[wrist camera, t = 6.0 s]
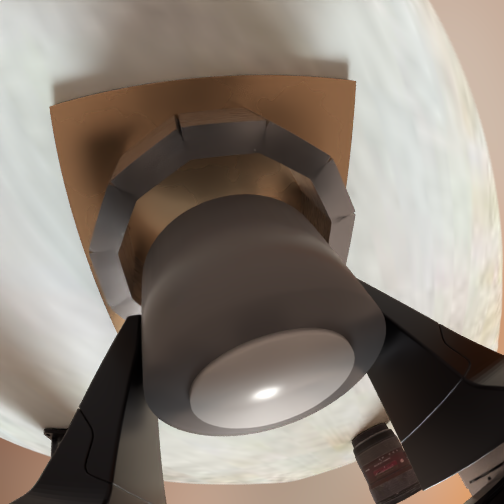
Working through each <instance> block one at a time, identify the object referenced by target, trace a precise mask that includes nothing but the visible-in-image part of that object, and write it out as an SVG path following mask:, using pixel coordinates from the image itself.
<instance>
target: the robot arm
mask: <svg viewBox="0 0 504 504" xmlns="http://www.w3.org/2000/svg"><path fill="white" fill-rule="evenodd" d="M356 279H357V278H356ZM357 280H358V281H359V282H360V284H361V285H362V286H363V287H364V289H365V290H366V291H367V293H368V294H369V295H370V296H371V298H372V299H373V300H374V302H375V303H376V304H377V306H378V307H379V308H380V310H381V311H382V313H383V316H384V318H385V323H386V336H385V340H384V344H383V346H382V349H381V351H380V353H379V355H378V357H377V359H376V361H375V362H374V364H373V365H372V366H371V368H370V369H369V370H368V372H367V374H368V376H369V378H370V380H371V382H372V384H373V386H374V388H375V390H376V392H377V394H378V396H379V398H380V400H381V402H382V404H383V406H384V408H385V410H386V413H387V415H388V417H389V419H390V421H391V423H392V425H393V427H394V429H395V431H396V433H397V435H398V438H399V440H400V442H401V444H402V446H403V449H404V451H405V453H406V455H407V457H408V459H409V462H410V464H411V466H412V468H413V470H414V473H415V475H416V477H417V479H418V482H419V484H420V486H421V488H422V490H423V491H424V490H426V489H428V488H430V487H432V486H434V485H436V484H438V483H440V482H442V481H443V480H446V479H447V478H449V477H451V476H453V475H455V474H456V473H459V475H460V477H461V478H462V481H463V482H464V484H465V486H466V488H468V489H469V491H470V493H471V495H472V497H471V498H470V499H469V500H467V501H466V502H465V503H464V504H504V355H502V354H499V353H497V352H495V351H493V350H491V349H488V348H486V347H484V346H482V345H480V344H478V343H476V342H473V341H471V340H469V339H467V338H465V337H463V336H461V335H459V334H457V333H456V332H454V331H452V330H450V329H448V328H446V327H445V326H443V325H441V324H438V323H437V322H436V321H434V320H432V319H430V318H429V317H427V316H425V315H423V314H421V313H420V312H418V311H416V310H414V309H412V308H411V307H409V306H407V305H405V304H403V303H401V302H400V301H398V300H396V299H394V298H392V297H390V296H389V295H387V294H385V293H383V292H381V291H379V290H378V289H376V288H374V287H372V286H370V285H368V284H366V283H365V282H363V281H361V280H359V279H357ZM79 408H80V409H77V412H76V414H75V416H74V418H73V420H72V422H71V424H70V426H69V428H68V429H67V430H50V429H44V435H45V436H47V437H48V438H49V439H50V440H52V443H51V459H50V461H49V462H48V464H47V466H46V468H45V469H44V471H43V473H42V474H41V476H40V478H39V479H38V481H37V482H36V484H35V485H34V486H33V488H32V489H31V490H30V491H28V492H27V493H26V494H25V495H23V496H22V497H20V498H18V499H16V500H15V501H13V502H11V503H9V504H166V497H165V490H164V481H163V473H162V463H161V453H160V441H159V427H158V417H157V416H156V415H154V413H153V412H152V411H151V410H150V408H149V407H148V405H147V402H146V400H145V396H144V388H143V369H142V335H141V315H140V314H138V315H131V316H128V317H127V318H126V320H125V322H124V324H123V325H122V327H121V329H120V331H119V332H118V334H117V336H116V338H115V339H114V341H113V343H112V345H111V347H110V348H109V350H108V352H107V354H106V356H105V358H104V359H103V361H102V363H101V365H100V367H99V369H98V371H97V372H96V374H95V376H94V378H93V380H92V382H91V384H90V386H89V388H88V390H87V392H86V394H85V396H84V398H83V400H82V402H81V404H80V406H79Z"/></svg>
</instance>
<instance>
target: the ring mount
mask: <svg viewBox="0 0 504 504" xmlns="http://www.w3.org/2000/svg"><path fill="white" fill-rule="evenodd" d="M355 90H356V81H352V80H345V79H336V78H324V77H310V76H289V75H237V76H216V77H202V78H191V79H181V80H172V81H164V82H157V83H150V84H144V85H138V86H132V87H126V88H121V89H116V90H111V91H106V92H102V93H97V94H93V95H89V96H85V97H81V98H77V99H73V100H70V101H66V102H62V103H59V104H56V105H53V106H50V114H51V120H52V126H53V132H54V138H55V143H56V148H57V153H58V158H59V163H60V167H61V171H62V176H63V180H64V184H65V188H66V192H67V196H68V199H69V203H70V207H71V210H72V214H73V217H74V220H75V224H76V227H77V230H78V233H79V236H80V240H81V243H82V246H83V249H84V252H85V254H86V257H87V260H88V263H89V266H90V268H91V271H92V274H93V276H94V279H95V282H96V284H97V287H98V289H99V292H100V294H101V297H102V299H103V302H104V304H105V306H106V309H107V311H108V313H109V316H110V318H111V320H112V323H113V325H114V327H115V329H116V331H117V333H118V332H119V331H120V329H121V327H122V325H123V324H124V322H125V320H126V318H127V317H128V316H131V315H138V314H140V315H141V303H142V274H143V266H144V263H145V259H146V256H147V254H148V252H149V250H150V248H151V245H152V244H153V242H154V241H155V239H156V238H157V237H158V235H159V234H160V233H161V232H162V231H163V229H164V228H165V227H166V226H167V225H168V224H169V223H171V222H172V221H173V220H174V219H175V218H177V217H178V216H179V215H181V214H182V213H184V212H186V211H187V210H189V209H190V208H192V207H195V206H197V205H199V204H201V203H203V202H206V201H209V200H212V199H215V198H219V197H224V196H229V195H240V194H251V195H262V196H266V197H271V198H274V199H277V200H280V201H283V202H285V203H287V204H289V205H290V206H292V207H294V208H295V209H297V210H298V211H299V212H301V213H302V214H303V215H304V216H305V217H306V218H307V219H308V220H309V222H310V223H311V224H312V225H313V226H314V227H315V229H316V230H317V231H318V232H319V233H320V235H321V236H322V237H323V238H324V239H325V240H326V242H327V243H328V244H329V245H330V246H331V248H332V249H333V250H334V251H335V253H336V254H337V255H338V256H339V257H340V259H341V260H342V261H343V262H344V264H345V265H346V262H347V257H348V252H349V247H350V242H351V236H352V231H353V226H354V220H355V214H354V212H355V210H354V207H353V205H352V202H351V200H350V197H349V195H348V192H347V190H346V184H347V176H348V168H349V159H350V150H351V140H352V130H353V118H354V105H355Z"/></svg>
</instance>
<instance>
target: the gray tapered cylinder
mask: <svg viewBox="0 0 504 504" xmlns="http://www.w3.org/2000/svg"><path fill="white" fill-rule="evenodd" d="M141 335H142V369H143V388H144V396H145V400H146V402H147V405H148V407H149V408H150V410H151V411H152V412H153V413H154V415H156V416H157V417H158V418H159V419H160V420H162V421H163V422H165V423H166V424H168V425H170V426H172V427H174V428H177V429H179V430H183V431H186V432H189V433H194V434H199V435H208V436H237V435H246V434H253V433H258V432H263V431H267V430H271V429H275V428H278V427H282V426H285V425H287V424H290V423H293V422H295V421H298V420H300V419H303V418H305V417H307V416H309V415H311V414H313V413H315V412H317V411H319V410H321V409H322V408H324V407H326V406H327V405H329V404H331V403H332V402H334V401H335V400H337V399H338V398H339V397H341V396H342V395H343V394H345V393H346V392H347V391H348V390H350V389H351V388H352V387H353V386H354V385H355V384H356V383H357V382H358V381H359V380H360V379H361V378H362V377H363V376H364V375H365V374H366V373H367V372H368V370H369V369H370V368H371V366H372V365H373V364H374V362H375V361H376V359H377V357H378V355H379V353H380V351H381V349H382V346H383V344H384V340H385V336H386V323H385V318H384V316H383V313H382V311H381V310H380V308H379V307H378V306H377V304H376V303H375V302H374V300H373V299H372V298H371V296H370V295H369V294H368V293H367V291H366V290H365V289H364V287H363V286H362V285H361V284H360V282H359V281H358V280H357V279H356V277H355V276H354V275H353V274H352V272H351V271H350V270H349V269H348V267H347V266H346V265H345V264H344V262H343V261H342V260H341V259H340V257H339V256H338V255H337V254H336V253H335V251H334V250H333V249H332V248H331V246H330V245H329V244H328V243H327V242H326V240H325V239H324V238H323V237H322V236H321V235H320V233H319V232H318V231H317V230H316V229H315V227H314V226H313V225H312V224H311V223H310V222H309V220H308V219H307V218H306V217H305V216H304V215H303V214H302V213H301V212H299V211H298V210H297V209H295V208H294V207H292V206H290V205H289V204H287V203H285V202H283V201H280V200H277V199H274V198H271V197H266V196H262V195H251V194H240V195H229V196H224V197H219V198H215V199H212V200H209V201H206V202H203V203H201V204H199V205H197V206H195V207H192V208H190V209H189V210H187V211H186V212H184V213H182V214H181V215H179V216H178V217H177V218H175V219H174V220H173V221H172V222H171V223H169V224H168V225H167V226H166V227H165V228H164V229H163V231H162V232H161V233H160V234H159V235H158V237H157V238H156V239H155V241H154V242H153V244H152V245H151V248H150V250H149V252H148V254H147V256H146V259H145V263H144V266H143V274H142V303H141Z"/></svg>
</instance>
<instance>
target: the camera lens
mask: <svg viewBox="0 0 504 504" xmlns="http://www.w3.org/2000/svg"><path fill="white" fill-rule="evenodd" d="M352 445H353V447H354V450H353V452H354V454H355V458H356V461H357V463H358V465H359V467H360V469H361V470H362V472H363V474H364V477H365V479H366V481H367V483H368V485H369V489H370V492H371V494H372V497H373V499H374V501H375V503H376V504H397V503H399V502H401V501H403V500H405V499H406V498H408V497H410V496H412V495H414V494H415V493H417V492H418V491H420V490H422V488H421V486H420V484H419V482H418V479H417V477H416V475H415V473H414V470H413V468H412V466H411V464H410V462H409V460H408V457H407V455H406V453H405V451H404V450H403V448H402V445H401V443H400V442H399V440H398V438H397V436H396V435H395V434H394V432H393V431H392V430H391V429H388V427H387V425H386V424H385V423H382V424H379V425H376V426H374V427H372V428H370V429H368V430H366V431H365V432H363V433H361V434H360V435H358V436H357V437H356V438H354V439H353V440H352Z"/></svg>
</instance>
